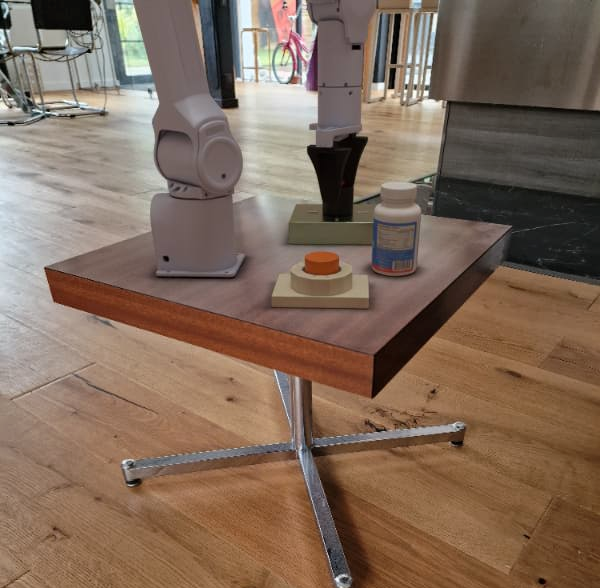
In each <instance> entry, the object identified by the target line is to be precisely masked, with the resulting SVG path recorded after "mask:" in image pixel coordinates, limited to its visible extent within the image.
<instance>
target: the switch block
mask: <svg viewBox="0 0 600 588" xmlns="http://www.w3.org/2000/svg"><path fill="white" fill-rule="evenodd" d="M353 267H354V266H352V265H351V264H349V263H347V262H346V261H341V260H339V272H338V273H336V274H332V275H311V274H307V273H305V260H303V261H300V262H298V263H296V264H295V263H294V265H292V266H291V268H290V273H279V274H278V277H277V279H276V282H275V284H274V287H273V291H272V293H271V307H272V308H313V309H315V308H317V309H370V286H369V274H353V269H354V268H353Z"/></svg>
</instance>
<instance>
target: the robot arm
mask: <svg viewBox="0 0 600 588" xmlns="http://www.w3.org/2000/svg"><path fill="white" fill-rule="evenodd" d="M132 3H133V7H134V10H135V15H136V19H137V23H138V26H139V29H140V34H141V38H142V41H143V45H144V50H145V54H146V57H147V61H148V65H149V69H150V73H151V76H152V82H153V84H154V88H155V92H156V96H157V101H158V106H157V108H156V110H155V111H154V115H153V117H152V119H151V126H152V129H153V134H154V144H153V145H154V146H153V162H154V165H155V168H156V170H157V172H158V173H159V174H160V175H161V177H162V178H163V179H164V180H166V184H167V190H168V192H158V193H155V194H154V195H153V196H152V198H151V201H150V207H149V208H150V209H149V220H150V229H151V235H152V242H153V248H154V254H155V261H156V269H157V271H156V272H155V275H156V276H157V277H188V278H189V277H190V278H191V277H196V278H198V277H200V278H202V277H204V278H234V277H235V276H236V275H237V273H238V271H239V270H240V268H241V266H242V265H243V262H244V260H245V258H246V254H245V253H238V252H237V251H238V250H237V239H236V225H235V213H234V198H233V195H234V194H235V187H236V185H238V182H239V181H240V180H241V177H242V174H243V168H244V161H243V160H244V158H243V153H242V149H241V147H240V145H239V143H238V141H237V140H236V139H235V137H234V135H233V133H232V130H231V128H230V124H229V119H228V115H226V113H225V112H224V110H223V109H222V108H221V106H219V104H218V103H217V101H216V100H215V99H214V98H213V97H212V95H211V92H210V88H209V87H210V86H209V83H208V77H207V74H206V68H205V63H204V59H203V55H202V54H203V53H202V49H201V44H200V39H199V34H198V30H197V26H196V21H195V16H194V15H195V14H194V12H193V6H192V0H132ZM305 3H306V10H307V14H308V17H309V20H310V22H311V23H313V24H315V26H316V27H317V122H313V123H310V124H308V130H309V131H315V144H309V145H307V146H306V154H307V156H308V158H309V160H310V162H311V165H312V167H313V169H314V172H315V175H316V180H317V184H318V188H319V194H320V198H321V200H322V201H321V203H322V202H325V203H338V201H339V197H340V193H341V186H342V181H344V183H347V184H352V185H353V186H354V187H355V183H356V182H355V181H356V177H357V172H358V169H359V165H360V161H361V158H362V155H363V152H364V150H365V148H366V146H367V145H368V142H369V136H366V135H361V136H360V132H362V131H363V123H362V103H363V101H362V100H363V73H364V72H363V71H364V49H365V47H364V45H365V43H366V42H367V39H368V38H369V27H370V26H369V25H370V23H371V21H372V19H373V18H374V17H373V16H374V14H375V11H376V8H377V0H305Z"/></svg>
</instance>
